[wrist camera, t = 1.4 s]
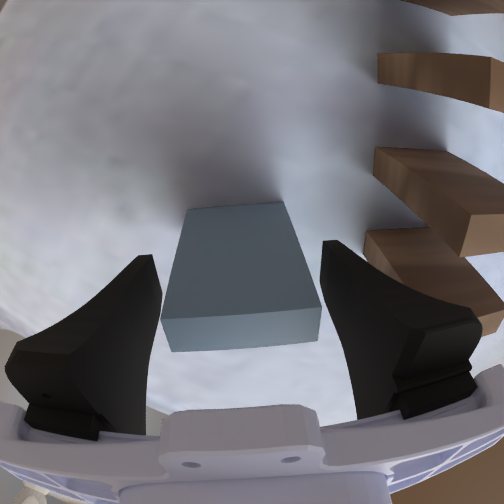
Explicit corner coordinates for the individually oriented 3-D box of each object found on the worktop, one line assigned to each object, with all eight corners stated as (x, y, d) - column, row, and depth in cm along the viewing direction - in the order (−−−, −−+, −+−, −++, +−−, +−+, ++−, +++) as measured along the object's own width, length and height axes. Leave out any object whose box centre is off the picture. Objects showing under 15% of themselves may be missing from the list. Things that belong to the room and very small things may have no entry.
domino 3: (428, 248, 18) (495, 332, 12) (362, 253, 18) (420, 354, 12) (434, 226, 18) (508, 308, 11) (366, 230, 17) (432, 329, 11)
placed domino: (283, 229, 17) (317, 341, 10) (191, 236, 17) (171, 351, 10) (283, 202, 16) (321, 306, 9) (187, 209, 16) (160, 319, 9)
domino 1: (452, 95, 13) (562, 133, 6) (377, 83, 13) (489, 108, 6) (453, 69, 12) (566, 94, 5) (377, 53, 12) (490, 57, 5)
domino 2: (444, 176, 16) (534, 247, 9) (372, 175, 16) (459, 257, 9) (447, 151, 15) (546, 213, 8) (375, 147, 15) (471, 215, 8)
